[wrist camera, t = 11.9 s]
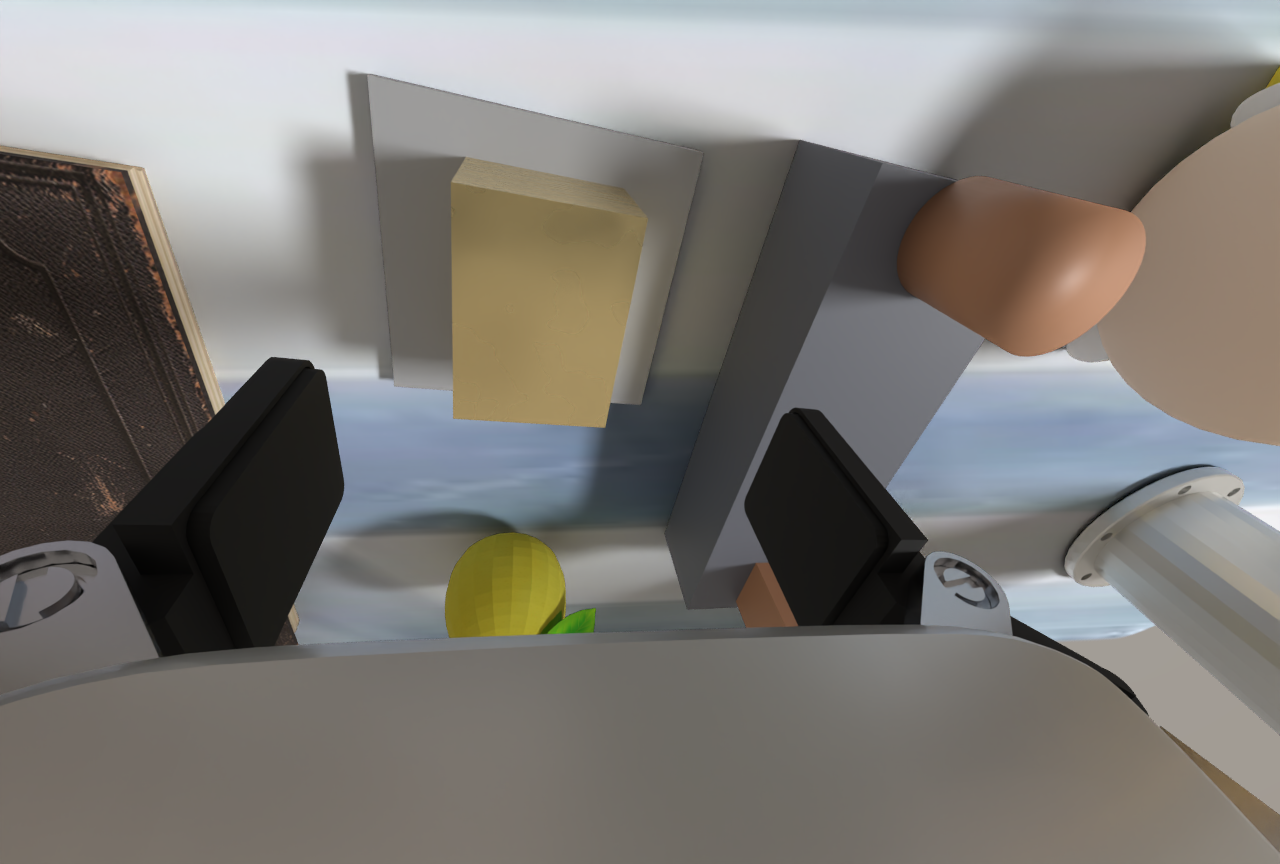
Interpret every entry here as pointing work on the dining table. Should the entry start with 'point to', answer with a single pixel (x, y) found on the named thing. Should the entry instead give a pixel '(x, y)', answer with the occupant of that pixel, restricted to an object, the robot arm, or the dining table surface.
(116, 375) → the hardcover book
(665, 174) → the mat
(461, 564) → the lemon
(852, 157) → the plane body
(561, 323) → the tan rectangular block
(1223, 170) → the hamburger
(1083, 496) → the dining table surface
